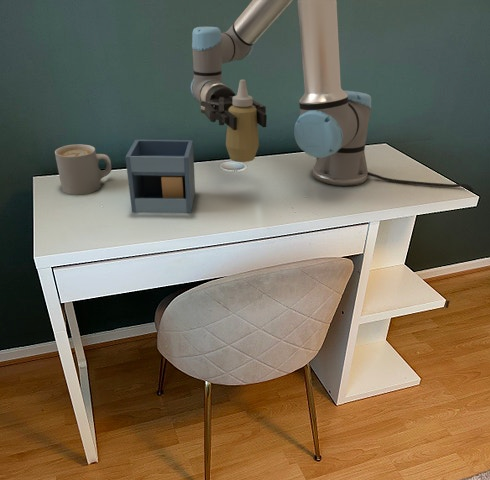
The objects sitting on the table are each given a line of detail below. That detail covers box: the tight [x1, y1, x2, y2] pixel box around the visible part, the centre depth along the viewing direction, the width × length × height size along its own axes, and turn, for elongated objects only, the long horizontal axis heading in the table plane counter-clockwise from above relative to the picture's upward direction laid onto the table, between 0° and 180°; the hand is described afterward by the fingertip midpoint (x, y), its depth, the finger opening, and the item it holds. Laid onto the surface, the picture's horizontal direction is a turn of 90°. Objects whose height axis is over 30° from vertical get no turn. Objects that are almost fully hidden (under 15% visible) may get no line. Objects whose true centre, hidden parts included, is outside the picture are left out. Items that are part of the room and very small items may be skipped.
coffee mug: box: [54, 143, 112, 196], centre depth 131 cm, size 13×10×10 cm
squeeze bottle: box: [225, 79, 260, 163], centre depth 117 cm, size 8×8×18 cm
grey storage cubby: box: [125, 139, 196, 214], centre depth 121 cm, size 14×12×14 cm
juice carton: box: [161, 176, 186, 198], centre depth 122 cm, size 5×5×8 cm
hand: (250, 122), depth 112 cm, fingers closed on squeeze bottle, 6 cm apart
